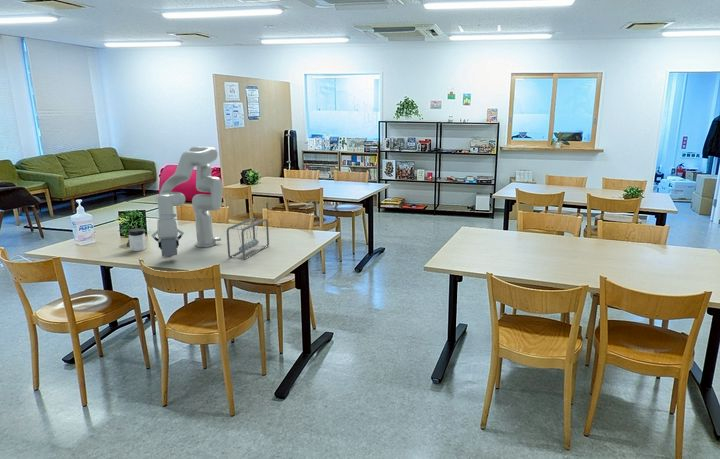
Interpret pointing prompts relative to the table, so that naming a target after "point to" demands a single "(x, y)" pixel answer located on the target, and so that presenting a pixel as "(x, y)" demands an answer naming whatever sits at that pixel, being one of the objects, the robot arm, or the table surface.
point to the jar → (137, 239)
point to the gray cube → (168, 246)
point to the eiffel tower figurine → (125, 244)
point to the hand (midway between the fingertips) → (168, 247)
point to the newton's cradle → (251, 243)
